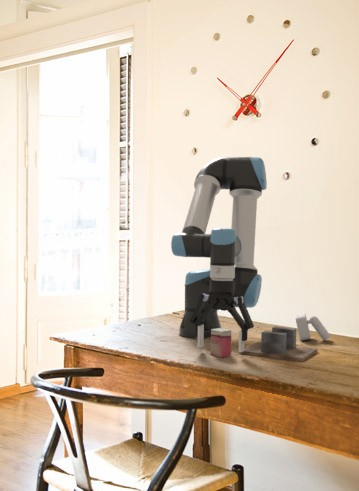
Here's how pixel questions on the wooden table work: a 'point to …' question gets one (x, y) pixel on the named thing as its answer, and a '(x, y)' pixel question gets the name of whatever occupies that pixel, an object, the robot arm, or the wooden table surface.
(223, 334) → the small box
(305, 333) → the wall hook
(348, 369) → the wooden table surface
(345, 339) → the wooden table surface
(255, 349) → the slotted post block
